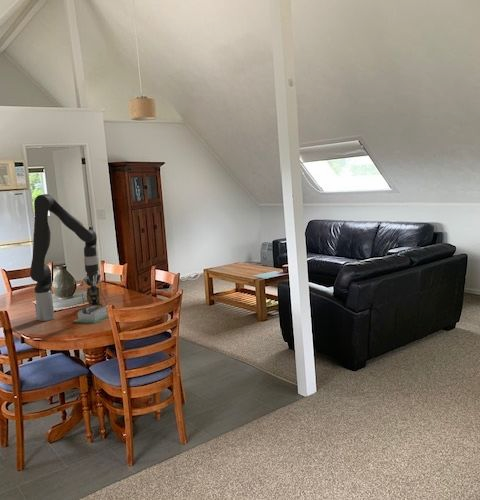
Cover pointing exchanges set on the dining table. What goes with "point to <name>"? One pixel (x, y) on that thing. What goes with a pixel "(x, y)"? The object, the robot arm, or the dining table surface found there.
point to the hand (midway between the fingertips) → (93, 291)
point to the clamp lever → (94, 308)
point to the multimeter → (93, 296)
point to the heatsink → (92, 315)
